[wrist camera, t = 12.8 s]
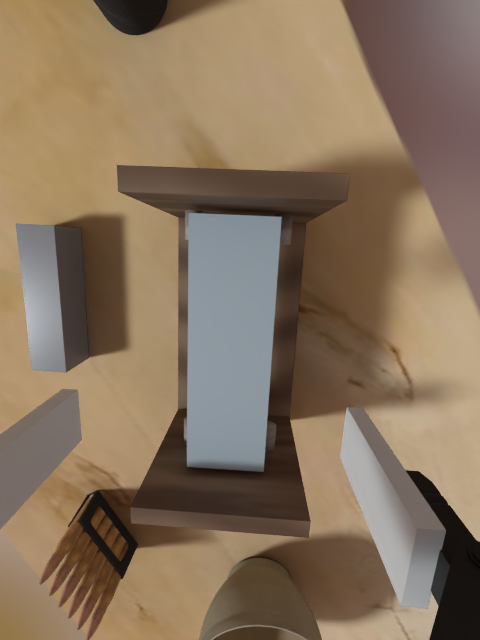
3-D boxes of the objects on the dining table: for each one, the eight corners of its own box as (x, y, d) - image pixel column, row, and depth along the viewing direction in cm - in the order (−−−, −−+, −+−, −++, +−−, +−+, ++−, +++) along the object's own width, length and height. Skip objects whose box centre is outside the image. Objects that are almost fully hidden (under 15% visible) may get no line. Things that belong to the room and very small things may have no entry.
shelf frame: (181, 205, 36) (117, 165, 19) (305, 210, 35) (349, 173, 18) (181, 413, 41) (130, 523, 25) (287, 420, 41) (308, 537, 24)
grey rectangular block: (47, 227, 37) (15, 223, 32) (80, 228, 37) (53, 225, 32) (58, 355, 40) (31, 370, 35) (89, 357, 40) (66, 372, 35)
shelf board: (197, 218, 27) (188, 212, 24) (277, 221, 27) (281, 216, 23) (194, 440, 32) (186, 466, 28) (262, 444, 32) (263, 471, 28)
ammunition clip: (87, 494, 45) (27, 580, 33) (97, 489, 45) (41, 574, 33) (128, 549, 47) (85, 648, 35) (138, 544, 46) (98, 643, 35)
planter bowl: (208, 620, 49) (195, 723, 38) (204, 535, 45) (189, 622, 35) (311, 625, 48) (328, 731, 37) (316, 539, 45) (335, 629, 34)
